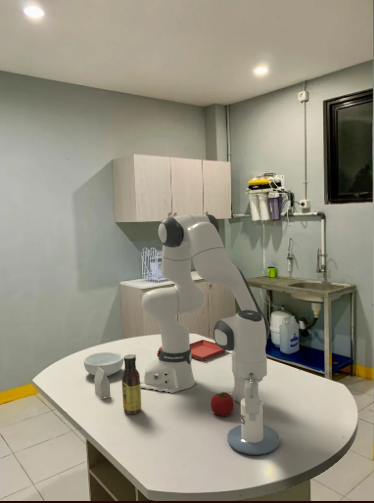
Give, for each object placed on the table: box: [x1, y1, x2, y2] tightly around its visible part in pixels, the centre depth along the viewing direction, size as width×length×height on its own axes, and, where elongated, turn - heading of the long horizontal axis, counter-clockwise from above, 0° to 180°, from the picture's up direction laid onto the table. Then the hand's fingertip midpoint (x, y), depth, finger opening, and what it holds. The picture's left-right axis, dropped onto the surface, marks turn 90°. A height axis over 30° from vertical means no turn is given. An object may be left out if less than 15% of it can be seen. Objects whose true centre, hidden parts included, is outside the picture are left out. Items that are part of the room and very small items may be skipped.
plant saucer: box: [190, 339, 227, 362], centre depth 196 cm, size 18×18×3 cm
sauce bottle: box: [121, 353, 142, 415], centre depth 139 cm, size 7×6×20 cm
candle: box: [240, 398, 264, 443], centre depth 117 cm, size 6×6×15 cm
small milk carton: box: [93, 367, 111, 400], centre depth 154 cm, size 4×7×10 cm, turn 31°
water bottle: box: [231, 351, 245, 405], centre depth 144 cm, size 7×7×25 cm
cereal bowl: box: [83, 351, 124, 377], centre depth 175 cm, size 17×17×7 cm
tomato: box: [210, 391, 235, 417], centre depth 136 cm, size 8×8×7 cm
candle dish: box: [226, 424, 281, 456], centre depth 118 cm, size 15×15×2 cm
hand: (252, 413), depth 117 cm, fingers open, 6 cm apart
